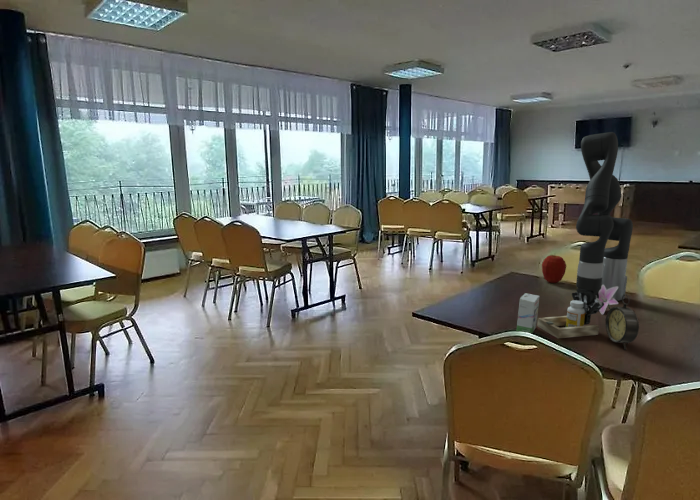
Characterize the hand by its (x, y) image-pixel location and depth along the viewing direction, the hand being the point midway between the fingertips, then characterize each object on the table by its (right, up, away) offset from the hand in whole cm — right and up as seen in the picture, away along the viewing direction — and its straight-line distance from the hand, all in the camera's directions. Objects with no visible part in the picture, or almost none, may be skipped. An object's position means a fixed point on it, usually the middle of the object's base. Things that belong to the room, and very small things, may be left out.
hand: (584, 323), depth 157 cm
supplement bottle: (-4, -2, 0) cm, 4 cm away
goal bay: (-7, -2, -1) cm, 7 cm away
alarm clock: (+5, -5, -13) cm, 14 cm away
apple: (+14, +10, +58) cm, 60 cm away
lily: (+16, +2, +19) cm, 25 cm away
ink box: (-20, -2, -1) cm, 20 cm away
